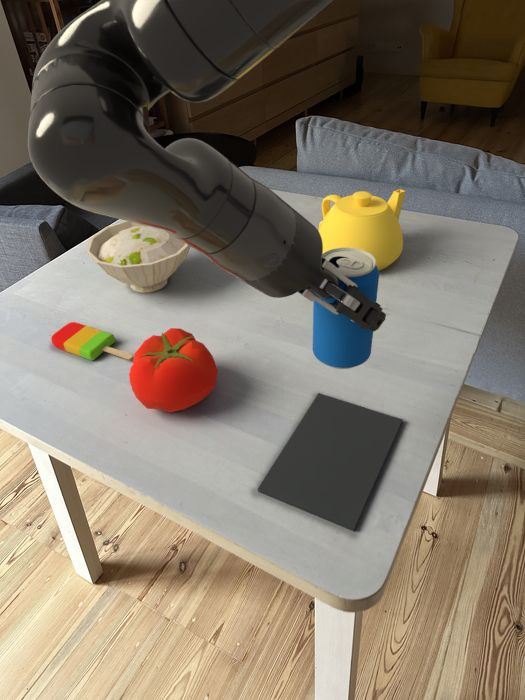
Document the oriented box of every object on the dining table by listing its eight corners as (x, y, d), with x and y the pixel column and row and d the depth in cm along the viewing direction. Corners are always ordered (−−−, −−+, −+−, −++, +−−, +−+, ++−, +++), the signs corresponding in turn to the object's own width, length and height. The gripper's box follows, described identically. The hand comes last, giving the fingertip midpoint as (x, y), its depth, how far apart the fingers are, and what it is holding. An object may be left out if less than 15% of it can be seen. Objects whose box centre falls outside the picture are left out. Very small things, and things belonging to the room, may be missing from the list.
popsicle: (74, 328, 91) (71, 319, 90) (143, 351, 85) (141, 342, 84) (50, 346, 87) (46, 337, 86) (121, 372, 81) (118, 363, 80)
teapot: (360, 287, 97) (365, 222, 89) (291, 251, 108) (290, 190, 100) (430, 250, 106) (440, 188, 98) (359, 220, 118) (363, 162, 110)
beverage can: (327, 331, 64) (330, 240, 56) (378, 347, 61) (389, 253, 54) (302, 362, 60) (302, 268, 52) (357, 380, 57) (365, 283, 49)
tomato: (204, 431, 71) (196, 384, 66) (120, 416, 74) (105, 369, 69) (233, 370, 81) (228, 324, 75) (158, 359, 84) (148, 314, 78)
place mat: (318, 395, 75) (318, 392, 75) (402, 422, 71) (402, 419, 70) (257, 491, 63) (257, 488, 63) (354, 531, 59) (354, 528, 58)
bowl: (105, 322, 92) (91, 271, 86) (91, 270, 106) (77, 223, 100) (212, 295, 97) (206, 245, 91) (185, 249, 111) (177, 203, 105)
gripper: (338, 230, 40) (427, 308, 52) (238, 175, 49) (333, 251, 62) (281, 313, 41) (381, 370, 53) (194, 244, 51) (296, 305, 63)
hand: (355, 306), depth 57 cm, fingers closed on beverage can, 6 cm apart
